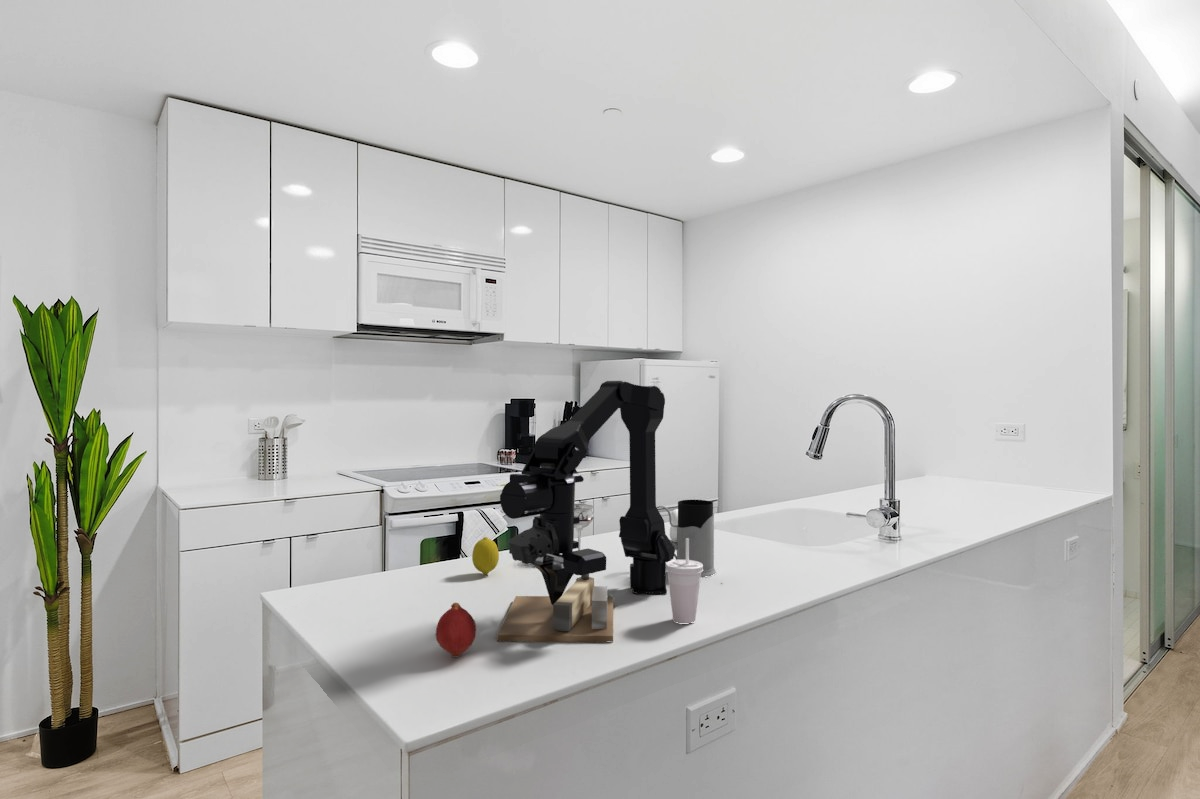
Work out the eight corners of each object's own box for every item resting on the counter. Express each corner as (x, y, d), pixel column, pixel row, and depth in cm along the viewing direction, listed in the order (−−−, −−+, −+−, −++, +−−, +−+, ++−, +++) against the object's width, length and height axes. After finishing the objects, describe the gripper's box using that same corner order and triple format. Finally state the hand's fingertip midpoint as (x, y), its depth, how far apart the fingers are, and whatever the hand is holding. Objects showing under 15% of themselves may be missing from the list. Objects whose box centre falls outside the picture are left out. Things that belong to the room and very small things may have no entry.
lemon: (493, 579, 141) (493, 540, 141) (468, 577, 142) (468, 539, 142) (502, 572, 146) (502, 534, 146) (478, 570, 147) (478, 533, 147)
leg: (578, 598, 124) (578, 576, 124) (596, 599, 123) (596, 577, 123) (551, 629, 107) (551, 604, 107) (571, 631, 107) (571, 606, 107)
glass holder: (710, 579, 141) (711, 506, 140) (645, 572, 146) (645, 502, 146) (719, 569, 149) (719, 500, 148) (657, 563, 154) (657, 496, 154)
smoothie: (693, 630, 111) (693, 544, 111) (658, 622, 114) (658, 539, 114) (709, 618, 116) (709, 537, 116) (675, 612, 120) (675, 532, 120)
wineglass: (576, 552, 163) (576, 503, 163) (599, 557, 159) (599, 505, 159) (558, 558, 158) (558, 506, 158) (581, 563, 154) (581, 509, 154)
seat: (613, 602, 126) (613, 567, 125) (613, 642, 106) (613, 601, 105) (515, 601, 126) (515, 566, 126) (497, 641, 106) (497, 600, 106)
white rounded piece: (702, 551, 165) (702, 514, 165) (657, 545, 171) (657, 510, 171) (718, 542, 175) (718, 507, 175) (676, 537, 181) (676, 503, 181)
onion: (439, 649, 103) (439, 596, 103) (477, 648, 103) (477, 595, 103) (433, 664, 97) (432, 608, 97) (474, 663, 97) (473, 607, 97)
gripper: (484, 507, 114) (481, 600, 114) (555, 525, 100) (553, 631, 101) (536, 501, 122) (534, 588, 122) (609, 517, 108) (607, 615, 108)
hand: (554, 604), depth 113 cm, fingers closed
